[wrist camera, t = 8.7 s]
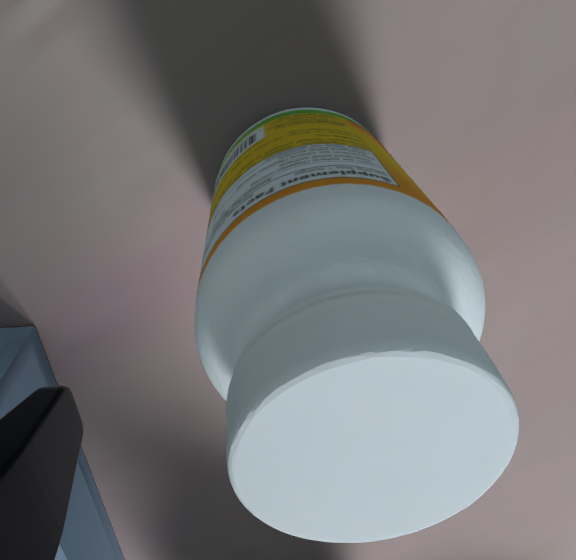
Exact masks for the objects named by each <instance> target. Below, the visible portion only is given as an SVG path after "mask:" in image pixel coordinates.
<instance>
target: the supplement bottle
mask: <svg viewBox="0 0 576 560" xmlns="http://www.w3.org/2000/svg"><path fill="white" fill-rule="evenodd" d="M484 316H485V294H484V287H483V282H482V278H481V275H480V272H479V269H478V266H477V264H476V262H475V259H474V257H473V255H472V254H471V252H470V250H469V248H468V247H467V245H466V244H465V243H464V241H463V240H462V239H461V237H460V236H459V234H458V233H457V232H456V230H455V229H454V228H453V226H452V225H451V224H450V223H449V222H448V220H447V219H446V218H445V217H444V215H443V214H442V213H441V212H440V211H439V210H438V209H437V208H436V207H435V206H434V204H433V203H432V202H431V201H430V200H429V199H428V197H427V196H426V195H425V194H424V193H423V192H422V191H421V189H420V188H419V187H418V186H417V185H416V184H415V183H414V181H413V180H412V179H411V178H410V177H409V176H408V175H407V174H406V173H405V171H404V170H403V169H402V168H401V167H400V165H399V164H398V163H397V162H396V161H395V159H394V158H393V157H392V156H391V155H390V154H389V153H388V151H387V150H386V149H385V148H384V147H383V146H382V144H381V143H380V142H379V141H378V140H377V139H376V138H375V137H374V136H373V135H372V134H371V133H370V132H369V131H368V130H367V129H365V128H364V127H363V126H362V125H361V124H359V123H358V122H356V121H354V120H353V119H351V118H349V117H347V116H345V115H343V114H340V113H338V112H335V111H331V110H326V109H321V108H293V109H287V110H283V111H280V112H277V113H274V114H272V115H270V116H267V117H265V118H263V119H262V120H260V121H258V122H257V123H255V124H254V125H252V126H251V127H250V128H248V129H247V130H246V131H245V132H244V133H243V134H242V135H241V136H239V138H238V139H237V140H236V141H235V142H234V143H233V145H232V146H231V147H230V149H229V151H228V152H227V154H226V156H225V158H224V160H223V162H222V164H221V167H220V169H219V172H218V176H217V179H216V183H215V187H214V193H213V199H212V205H211V211H210V218H209V224H208V230H207V237H206V243H205V249H204V255H203V261H202V267H201V272H200V278H199V284H198V290H197V296H196V312H195V336H196V343H197V348H198V352H199V355H200V358H201V361H202V364H203V367H204V369H205V371H206V373H207V375H208V377H209V379H210V381H211V382H212V384H213V385H214V387H215V388H216V390H217V391H218V392H219V393H220V395H221V396H222V397H223V398H224V399H225V400H226V416H227V442H226V460H227V471H228V475H229V479H230V483H231V485H232V487H233V489H234V491H235V493H236V495H237V497H238V498H239V500H240V501H241V503H242V504H243V505H244V506H245V507H246V508H247V509H248V510H249V511H250V512H251V513H252V514H253V515H254V516H255V517H257V518H258V519H260V520H261V521H263V522H264V523H266V524H267V525H269V526H271V527H273V528H275V529H277V530H279V531H282V532H284V533H287V534H290V535H293V536H297V537H300V538H304V539H309V540H316V541H323V542H332V543H362V542H371V541H377V540H384V539H390V538H394V537H398V536H402V535H406V534H409V533H413V532H416V531H419V530H421V529H424V528H427V527H429V526H432V525H435V524H437V523H439V522H441V521H443V520H445V519H447V518H449V517H451V516H452V515H454V514H456V513H457V512H459V511H461V510H462V509H464V508H466V507H468V506H469V505H471V504H472V503H473V502H474V501H476V500H477V499H478V498H479V497H480V496H481V495H482V494H483V493H484V492H485V491H487V490H488V489H489V488H490V487H491V486H492V485H493V484H494V482H495V481H496V480H497V479H498V478H499V477H500V475H501V474H502V473H503V471H504V470H505V468H506V467H507V465H508V464H509V462H510V460H511V457H512V455H513V453H514V450H515V448H516V444H517V439H518V433H519V415H518V411H517V407H516V404H515V401H514V398H513V396H512V393H511V391H510V389H509V387H508V386H507V384H506V382H505V381H504V379H503V378H502V376H501V375H500V373H499V371H498V370H497V368H496V366H495V365H494V363H493V362H492V360H491V359H490V357H489V356H488V354H487V353H486V351H485V350H484V348H483V347H482V345H481V344H480V342H479V341H480V337H481V334H482V330H483V324H484Z"/></svg>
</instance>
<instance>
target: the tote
mask: <svg viewBox="0 0 576 560" xmlns="http://www.w3.org/2000/svg"><path fill="white" fill-rule="evenodd" d="M51 386H58V385H57V382H56V380H55V377H54V375H53V372H52V369H51V367H50V364H49V361H48V359H47V356H46V354H45V351H44V348H43V346H42V343H41V341H40V338H39V335H38V333H37V330H36V327H35V326H26V327H9V328H0V419H1V418H2V417H3V416H5V415H6V414H7V413H8V412H10V411H11V410H12V409H13V408H14V407H16V406H17V405H18V404H19V403H21V402H22V401H23V400H24V399H25V398H27V397H28V396H29V395H30V394H32V393H33V392H34V391H35V390H37V389H39V388H42V387H51ZM55 560H124V558H123V555H122V552H121V550H120V547H119V545H118V542H117V539H116V537H115V534H114V532H113V529H112V526H111V524H110V521H109V518H108V516H107V513H106V511H105V508H104V505H103V503H102V500H101V498H100V495H99V492H98V490H97V487H96V484H95V482H94V479H93V477H92V474H91V471H90V469H89V466H88V464H87V461H86V458H85V456H84V453H83V450H82V448H81V446H80V451H79V456H78V461H77V466H76V471H75V476H74V481H73V486H72V491H71V496H70V501H69V506H68V511H67V516H66V520H65V524H64V529H63V533H62V537H61V540H60V543H59V547H58V550H57V554H56V557H55Z"/></svg>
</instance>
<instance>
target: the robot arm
mask: <svg viewBox="0 0 576 560" xmlns="http://www.w3.org/2000/svg"><path fill="white" fill-rule="evenodd" d="M82 435H83V425H82V420H81V417H80V415H79V412H78V409H77V406H76V403H75V401H74V398H73V395H72V393H71V391H70V389H69V388H68V387H66V386H51V387H42V388H39V389H37V390H35V391H34V392H33V393H32V394H30V395H29V396H28V397H27V398H25V399H24V400H23V401H22V402H21V403H19V404H18V405H17V406H16V407H14V408H13V409H12V410H11V411H10V412H8V413H7V414H6V415H5V416H3V417H2V418H1V419H0V560H55V557H56V554H57V550H58V547H59V543H60V540H61V537H62V533H63V529H64V524H65V520H66V516H67V511H68V506H69V501H70V496H71V491H72V486H73V481H74V476H75V471H76V466H77V461H78V456H79V451H80V446H81V441H82Z"/></svg>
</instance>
